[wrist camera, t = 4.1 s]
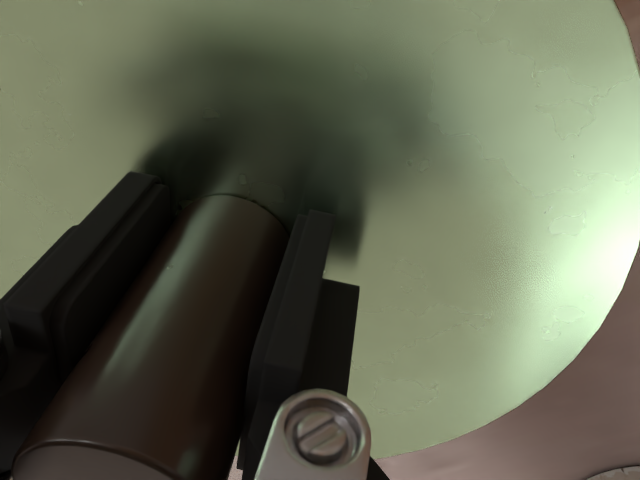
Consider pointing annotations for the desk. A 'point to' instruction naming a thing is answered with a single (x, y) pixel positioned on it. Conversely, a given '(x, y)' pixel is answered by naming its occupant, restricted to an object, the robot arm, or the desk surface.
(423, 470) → the desk surface
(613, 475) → the thermos bottle
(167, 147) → the lid
